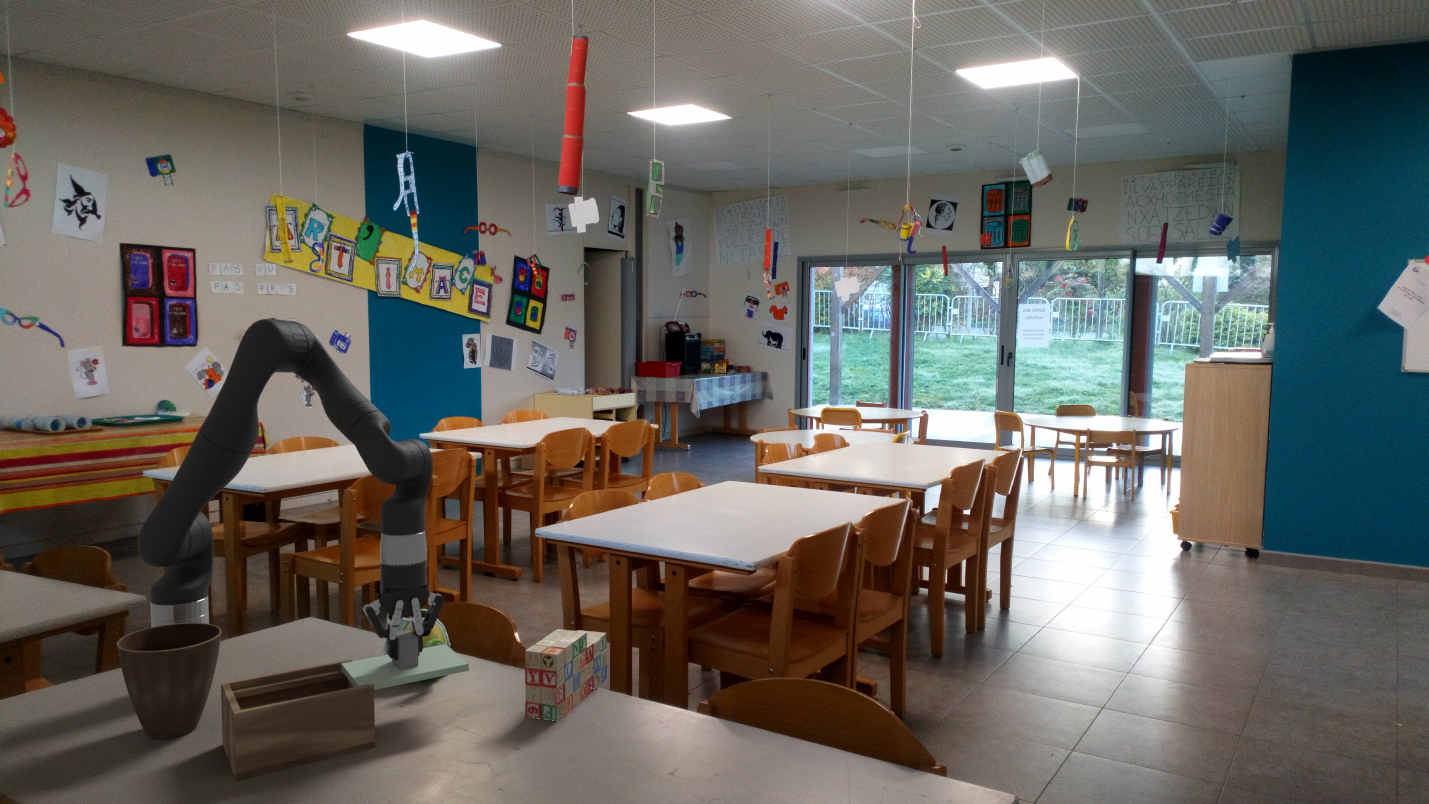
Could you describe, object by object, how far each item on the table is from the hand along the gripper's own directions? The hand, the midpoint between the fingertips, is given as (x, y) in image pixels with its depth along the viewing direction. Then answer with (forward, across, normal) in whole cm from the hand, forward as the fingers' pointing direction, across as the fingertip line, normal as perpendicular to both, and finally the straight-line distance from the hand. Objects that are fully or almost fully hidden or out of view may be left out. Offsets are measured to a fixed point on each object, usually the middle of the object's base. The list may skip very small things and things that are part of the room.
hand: (404, 656), depth 156 cm
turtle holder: (+12, -9, -20) cm, 25 cm away
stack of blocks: (+12, -28, +5) cm, 31 cm away
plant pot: (+12, +33, -18) cm, 39 cm away
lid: (+2, 0, 0) cm, 2 cm away
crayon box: (+11, +17, 0) cm, 20 cm away
